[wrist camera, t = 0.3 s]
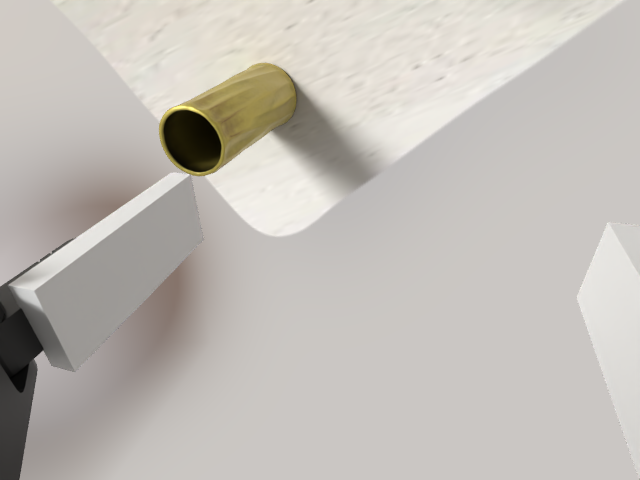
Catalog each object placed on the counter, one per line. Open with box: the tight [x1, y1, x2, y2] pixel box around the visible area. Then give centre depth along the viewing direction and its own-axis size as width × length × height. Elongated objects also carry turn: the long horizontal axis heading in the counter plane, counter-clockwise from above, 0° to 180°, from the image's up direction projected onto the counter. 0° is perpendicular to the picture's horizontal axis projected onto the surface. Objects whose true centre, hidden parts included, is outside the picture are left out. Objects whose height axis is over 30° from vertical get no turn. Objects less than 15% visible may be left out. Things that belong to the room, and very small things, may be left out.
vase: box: [159, 63, 296, 176], centre depth 35 cm, size 6×6×14 cm
